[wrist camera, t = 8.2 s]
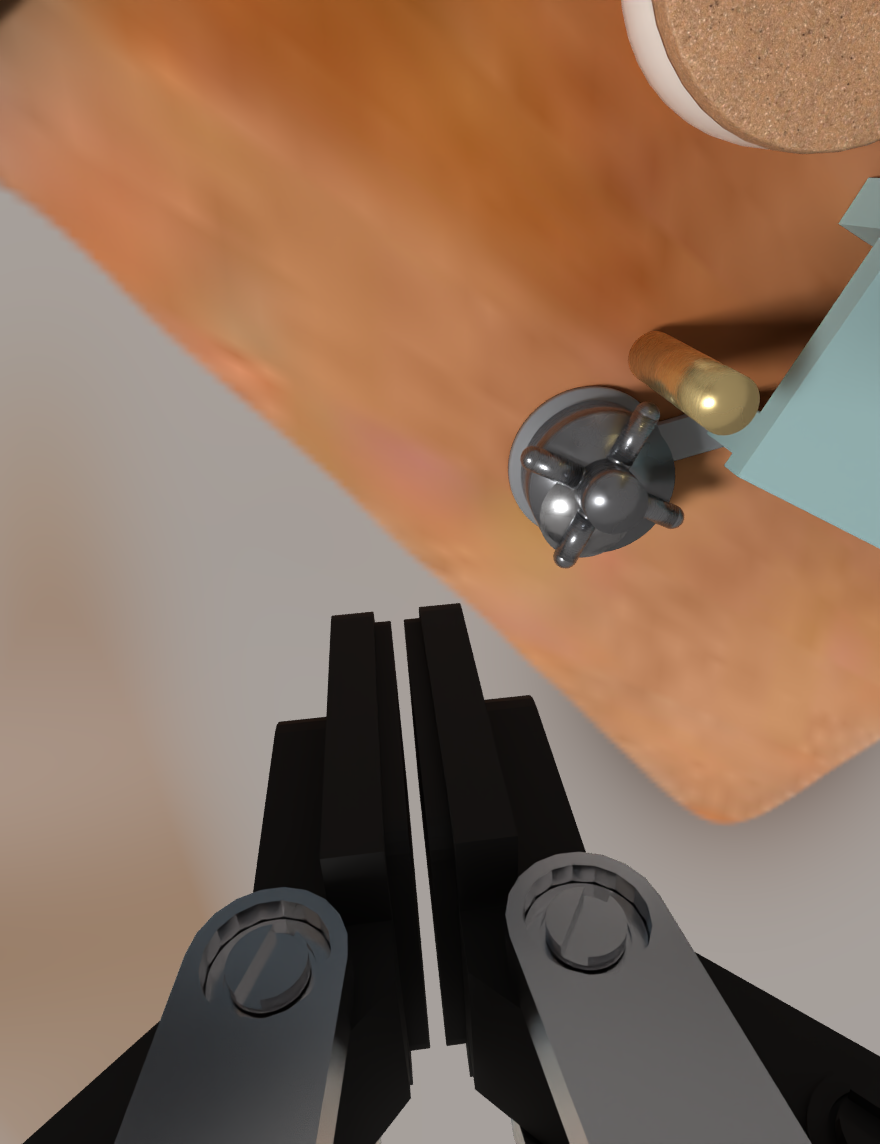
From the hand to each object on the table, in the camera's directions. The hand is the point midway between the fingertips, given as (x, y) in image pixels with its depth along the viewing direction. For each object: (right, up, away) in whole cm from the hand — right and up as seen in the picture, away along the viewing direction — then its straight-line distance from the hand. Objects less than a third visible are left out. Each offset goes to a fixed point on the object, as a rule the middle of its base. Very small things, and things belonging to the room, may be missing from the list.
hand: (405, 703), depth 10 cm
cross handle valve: (+7, +7, +22) cm, 25 cm away
